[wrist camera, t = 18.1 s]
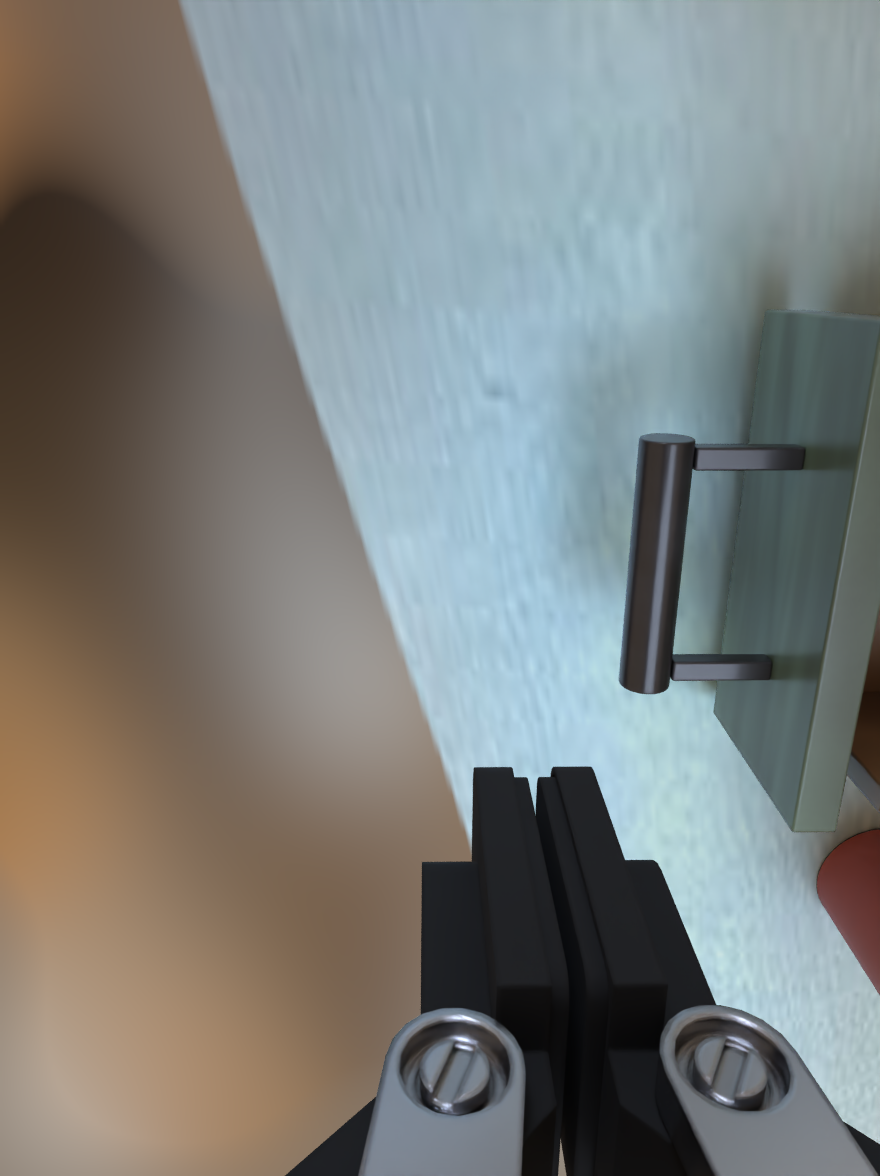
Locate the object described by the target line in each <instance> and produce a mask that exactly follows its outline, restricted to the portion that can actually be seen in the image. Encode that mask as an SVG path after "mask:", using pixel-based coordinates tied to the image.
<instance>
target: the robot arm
mask: <svg viewBox="0 0 880 1176" xmlns="http://www.w3.org/2000/svg"><path fill="white" fill-rule="evenodd" d="M421 930H422V931H421V933H422V935H421V1015H420V1016H418V1017H417V1018H415V1019H413V1020H412V1021H410V1022H408V1023H407V1024H406V1025H405V1026H404V1027H403V1028H402V1029H401V1030H400V1031H399V1032H398V1034H397V1035H396V1036H395V1037H394V1038H393V1040H392V1042H391V1045H390V1047H389V1049H388V1052H387V1054H386V1056H385V1061H384V1065H383V1070H382V1074H381V1078H380V1083H379V1087H378V1092H377V1096H376V1097H375V1098H374V1099H373V1100H372V1101H370V1102H369V1103H368V1104H367V1105H366V1106H365V1107H364V1108H362V1109H361V1110H360V1111H359V1112H358V1113H357V1114H356V1115H354V1116H353V1117H352V1118H351V1119H350V1120H349V1121H347V1122H346V1123H345V1124H344V1125H343V1126H342V1127H341V1128H339V1129H338V1130H337V1131H336V1132H335V1133H334V1134H333V1135H331V1136H330V1137H329V1138H328V1139H327V1140H326V1141H325V1142H323V1143H322V1144H321V1145H320V1146H319V1147H318V1148H316V1149H315V1150H314V1151H313V1152H312V1153H311V1154H310V1155H308V1156H307V1157H306V1158H305V1159H304V1160H303V1161H301V1162H300V1163H299V1164H298V1165H297V1166H296V1167H295V1168H293V1169H292V1170H291V1171H290V1172H289V1173H288V1174H287V1175H285V1176H558V1166H559V1152H560V1138H561V1143H562V1150H563V1156H564V1162H565V1168H566V1175H567V1176H880V1144H878V1143H877V1142H875V1141H874V1140H872V1139H870V1138H869V1137H867V1136H866V1135H864V1134H862V1133H861V1132H859V1131H858V1130H856V1129H854V1128H853V1127H851V1126H850V1125H848V1124H846V1123H845V1122H843V1121H842V1119H841V1118H840V1116H839V1115H838V1113H837V1112H836V1110H835V1109H834V1107H833V1106H832V1104H831V1103H830V1101H829V1100H828V1098H827V1097H826V1095H825V1094H824V1092H823V1091H822V1089H821V1088H820V1086H819V1085H818V1083H817V1082H816V1080H815V1079H814V1077H813V1076H812V1074H811V1073H810V1071H809V1070H808V1068H807V1067H806V1065H805V1064H804V1062H803V1061H802V1059H801V1058H800V1056H799V1055H798V1053H797V1052H796V1050H795V1049H794V1048H793V1047H792V1046H791V1045H790V1043H789V1042H788V1041H787V1040H786V1039H785V1038H784V1036H783V1035H782V1034H781V1033H779V1032H778V1031H777V1030H775V1029H774V1028H773V1027H771V1026H770V1025H769V1024H767V1023H766V1022H765V1021H763V1020H762V1019H759V1018H757V1017H755V1016H753V1015H751V1014H749V1013H747V1012H744V1011H742V1010H739V1009H734V1008H730V1007H726V1006H721V1005H716V1003H715V1001H714V998H713V996H712V993H711V991H710V989H709V986H708V984H707V981H706V979H705V976H704V974H703V971H702V969H701V966H700V964H699V962H698V959H697V957H696V954H695V952H694V949H693V947H692V944H691V942H690V939H689V937H688V935H687V932H686V930H685V927H684V925H683V922H682V920H681V917H680V915H679V912H678V910H677V908H676V905H675V903H674V900H673V898H672V895H671V893H670V890H669V888H668V885H667V883H666V881H665V878H664V876H663V873H662V871H661V869H660V867H659V865H658V863H657V862H655V861H654V860H625V859H624V856H623V853H622V850H621V847H620V844H619V842H618V839H617V836H616V833H615V830H614V827H613V824H612V822H611V819H610V816H609V813H608V810H607V807H606V805H605V802H604V799H603V796H602V793H601V790H600V787H599V785H598V782H597V779H596V776H595V773H594V771H593V769H592V767H553V768H552V771H551V777H539V778H538V781H537V796H536V816H535V811H534V806H533V801H532V797H531V792H530V787H529V782H528V778H527V777H514V774H513V769H512V767H474V772H473V820H472V862H422V929H421Z"/></svg>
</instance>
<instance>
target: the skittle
mask: <svg viewBox="0 0 880 1176" xmlns="http://www.w3.org/2000/svg"><path fill="white" fill-rule="evenodd" d="M817 892H818V896H819V899H820V901H821V903H822V905H823V906H824V908H825V909H826V911H827V913H828V914H829V916H830V917H831V919H832V920H833V922H834V924H835V925H836V927H837V928H838V930H839V932H840V933H841V935H842V936H843V938H844V939H845V941H846V943H847V944H848V946H849V947H850V949H851V951H852V952H853V954H854V955H855V957H856V958H857V960H858V962H859V963H860V965H861V966H862V968H863V970H864V971H865V973H866V974H867V976H868V977H869V979H870V981H871V982H872V984H873V985H874V987H875V989H876V990H877V992H878V993H879V995H880V829H879V830H872V831H867V832H864V833H861V834H858V835H856V836H854V837H851V838H850V839H848V840H846V841H844V842H843V843H842V844H840V845H839V846H838V847H837V848H835V849H834V850H833V851H832V852H831V853H830V854H829V856H828V857H827V858H826V860H825V861H824V863H823V865H822V866H821V869H820V871H819V874H818V879H817Z"/></svg>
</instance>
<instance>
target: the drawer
mask: <svg viewBox="0 0 880 1176" xmlns="http://www.w3.org/2000/svg"><path fill="white" fill-rule="evenodd" d="M692 469H694V470H696V471H745V473H744V480H743V488H742V496H741V503H740V511H739V519H738V527H737V534H736V542H735V550H734V557H733V565H732V573H731V581H730V588H729V596H728V604H727V611H726V619H725V627H724V635H723V642H722V650H721V654H673V646H674V636H675V627H676V618H677V608H678V599H679V590H680V581H681V571H682V562H683V553H684V543H685V534H686V525H687V515H688V506H689V497H690V488H691V478H692ZM670 678H671V679H672V680H673V681H717V689H716V696H715V704H714V714H715V716H716V717H717V719H718V720H719V722H720V723H721V725H722V726H723V728H724V729H725V731H726V732H727V734H728V735H729V737H730V738H731V740H732V741H733V743H734V744H735V746H736V747H737V749H738V750H739V752H740V754H741V755H742V757H743V758H744V760H745V761H746V763H747V764H748V766H749V767H750V769H751V770H752V772H753V773H754V775H755V776H756V778H757V779H758V781H759V782H760V784H761V785H762V787H763V788H764V790H765V791H766V793H767V794H768V796H769V797H770V799H771V801H772V802H773V804H774V805H775V807H776V808H777V810H778V811H779V813H780V814H781V816H782V817H783V819H784V820H785V822H786V823H787V825H788V826H789V828H790V829H791V831H793V832H834V831H835V830H836V826H837V821H838V816H839V811H840V806H841V801H842V796H843V791H844V786H845V781H846V776H847V775H848V777H849V778H850V779H851V780H852V781H853V782H854V784H855V785H856V786H857V787H858V788H859V790H860V791H861V792H862V793H863V794H864V795H865V797H866V798H867V799H868V800H869V801H870V803H871V804H872V805H873V806H874V807H875V808H876V810H877V811H878V812H879V813H880V316H874V315H862V314H850V313H838V312H825V311H813V310H767V311H766V312H765V318H764V326H763V334H762V341H761V349H760V357H759V365H758V372H757V380H756V388H755V395H754V403H753V411H752V419H751V426H750V434H749V442H748V444H695V439H694V438H692V437H689V436H685V435H678V434H647V435H643V436H641V437H640V438H639V446H638V458H637V470H636V482H635V494H634V506H633V517H632V529H631V541H630V553H629V565H628V577H627V589H626V601H625V613H624V624H623V636H622V648H621V660H620V672H619V682H620V684H621V685H622V686H623V687H624V688H626V689H628V690H630V691H633V692H636V693H641V694H657V693H661V692H664V691H666V690H667V689H668V687H669V683H670Z"/></svg>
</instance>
